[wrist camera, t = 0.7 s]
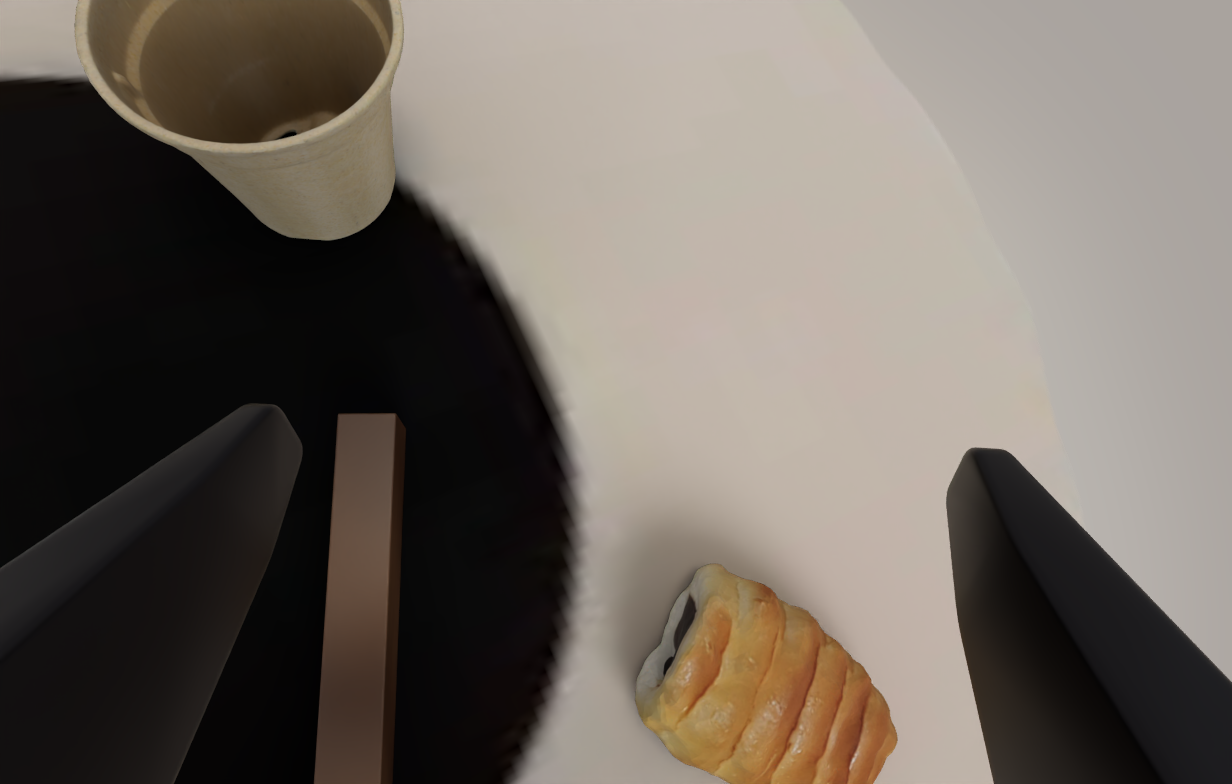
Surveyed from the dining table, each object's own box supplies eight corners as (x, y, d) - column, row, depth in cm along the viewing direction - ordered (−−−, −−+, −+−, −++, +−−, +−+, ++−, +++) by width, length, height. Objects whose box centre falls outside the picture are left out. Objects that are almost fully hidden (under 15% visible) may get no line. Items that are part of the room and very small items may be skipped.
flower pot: (152, 222, 27) (-1, 67, 19) (273, 53, 30) (185, -144, 22) (368, 314, 28) (309, 201, 20) (467, 138, 31) (453, -25, 22)
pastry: (895, 665, 27) (955, 679, 23) (834, 840, 25) (889, 885, 21) (689, 553, 27) (717, 549, 23) (612, 719, 25) (629, 743, 21)
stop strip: (382, 1046, 21) (367, 1104, 19) (316, 1056, 21) (291, 1116, 19) (406, 427, 27) (396, 412, 24) (353, 428, 26) (337, 413, 24)
